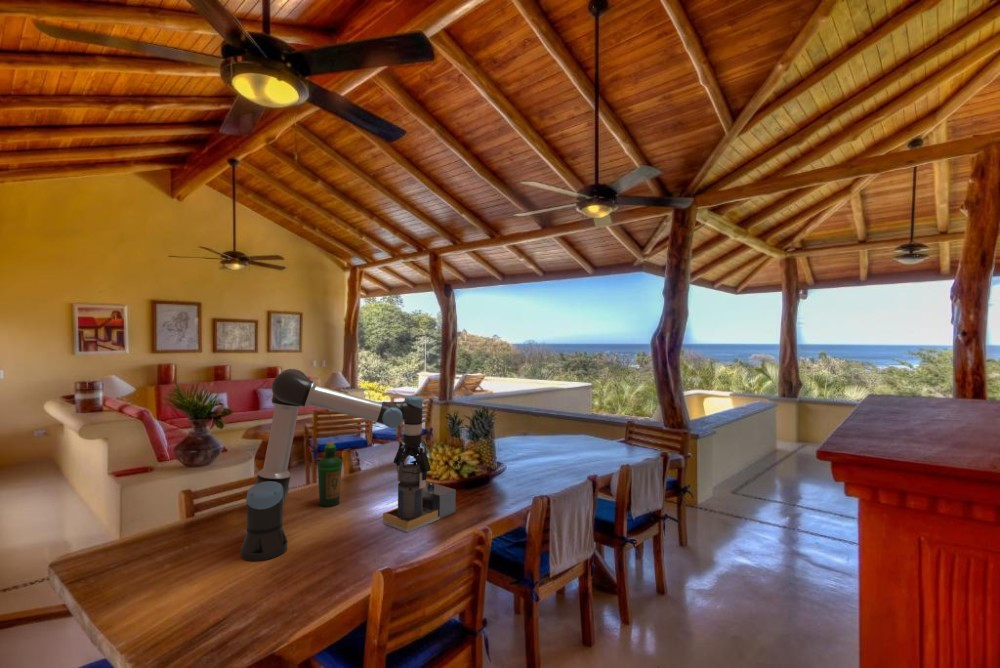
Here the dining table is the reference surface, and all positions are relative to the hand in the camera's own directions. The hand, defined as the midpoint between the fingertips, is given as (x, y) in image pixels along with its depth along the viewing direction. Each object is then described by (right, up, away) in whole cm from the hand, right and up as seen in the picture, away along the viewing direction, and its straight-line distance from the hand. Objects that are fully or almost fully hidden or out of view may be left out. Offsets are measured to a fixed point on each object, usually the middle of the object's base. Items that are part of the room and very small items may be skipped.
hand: (411, 484), depth 201 cm
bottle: (-41, -15, +19) cm, 48 cm away
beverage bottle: (0, -15, 0) cm, 15 cm away
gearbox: (+3, -16, +4) cm, 16 cm away
